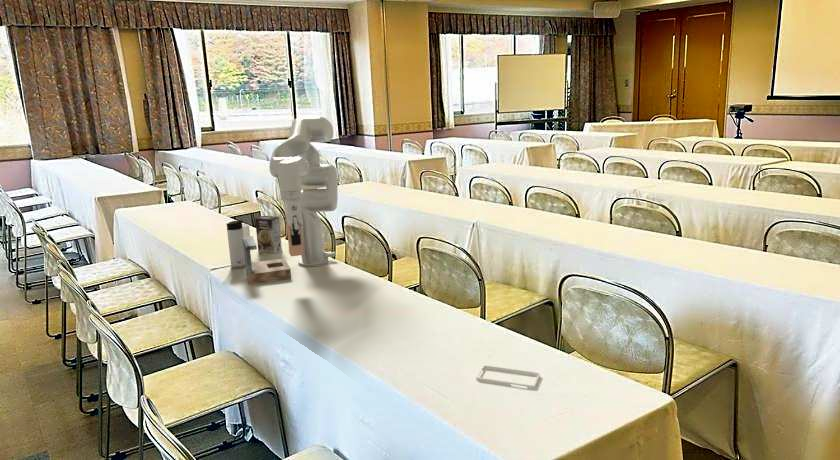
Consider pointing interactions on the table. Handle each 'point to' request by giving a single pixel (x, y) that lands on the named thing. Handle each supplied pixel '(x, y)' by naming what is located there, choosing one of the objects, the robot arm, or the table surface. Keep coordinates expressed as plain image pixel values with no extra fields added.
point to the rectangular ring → (506, 381)
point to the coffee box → (268, 234)
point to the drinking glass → (246, 230)
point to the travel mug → (236, 244)
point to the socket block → (263, 266)
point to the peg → (295, 249)
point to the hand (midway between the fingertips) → (295, 242)
